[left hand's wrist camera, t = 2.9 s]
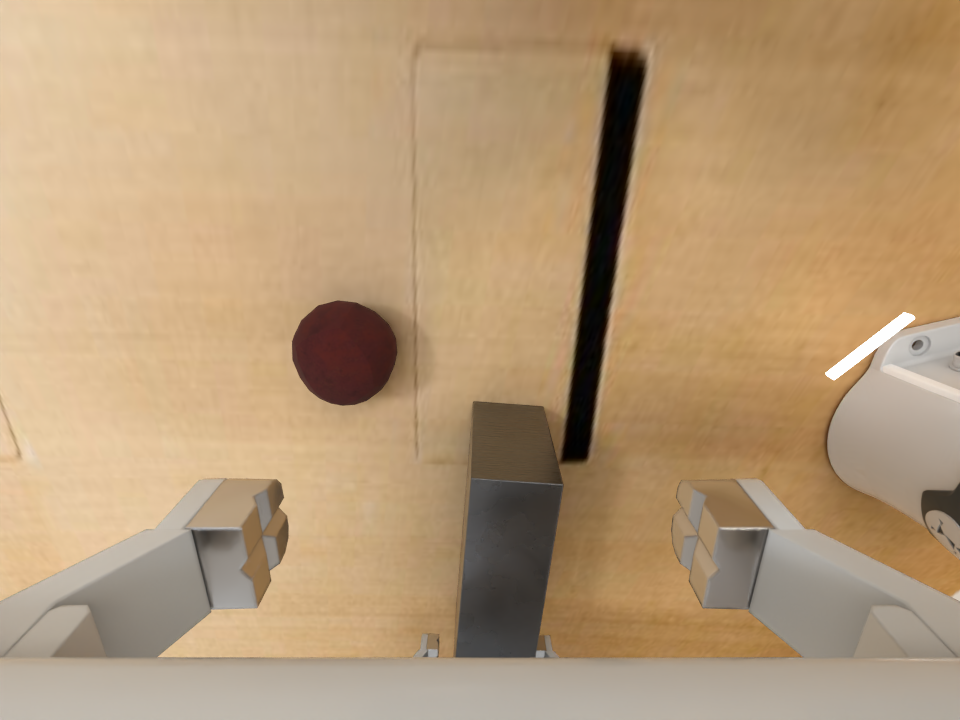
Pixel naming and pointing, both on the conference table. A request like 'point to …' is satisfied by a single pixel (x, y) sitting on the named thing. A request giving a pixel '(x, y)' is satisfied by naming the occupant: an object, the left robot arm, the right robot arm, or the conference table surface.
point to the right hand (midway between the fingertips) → (485, 639)
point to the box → (506, 532)
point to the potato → (344, 352)
